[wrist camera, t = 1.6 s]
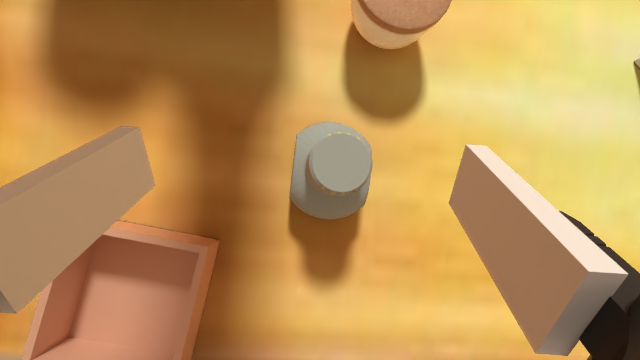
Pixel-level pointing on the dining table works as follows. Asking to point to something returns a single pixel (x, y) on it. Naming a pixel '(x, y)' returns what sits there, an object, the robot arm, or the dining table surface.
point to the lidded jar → (396, 20)
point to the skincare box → (638, 61)
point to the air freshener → (330, 171)
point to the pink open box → (126, 298)
